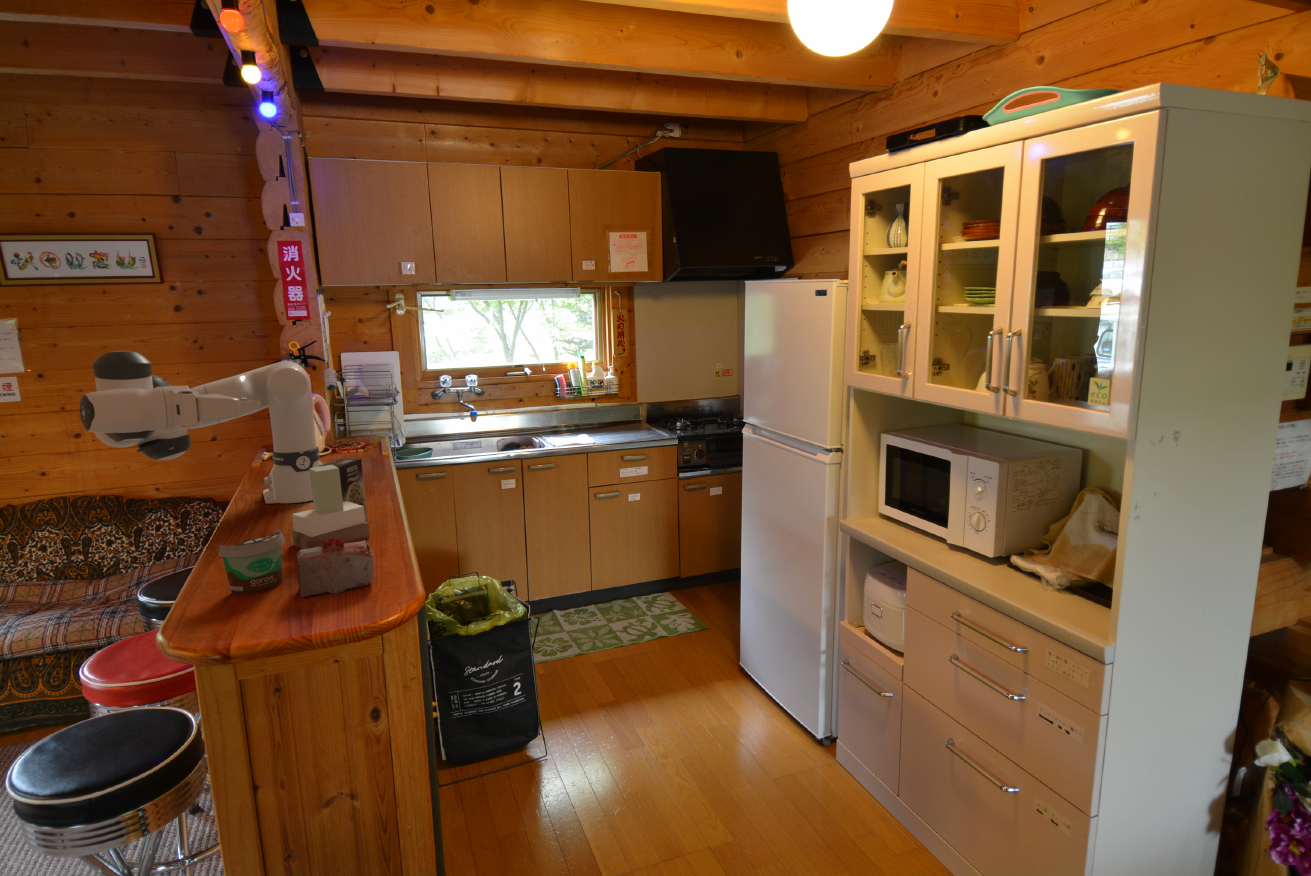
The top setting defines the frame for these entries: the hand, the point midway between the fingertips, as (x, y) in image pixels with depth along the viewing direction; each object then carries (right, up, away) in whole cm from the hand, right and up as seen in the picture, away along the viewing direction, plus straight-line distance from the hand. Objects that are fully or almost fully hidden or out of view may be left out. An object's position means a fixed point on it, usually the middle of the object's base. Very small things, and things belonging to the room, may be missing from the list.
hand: (255, 403), depth 162 cm
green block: (+11, -24, +11) cm, 29 cm away
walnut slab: (+11, -32, +13) cm, 36 cm away
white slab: (+11, -28, +12) cm, 33 cm away
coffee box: (+9, -29, +26) cm, 40 cm away
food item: (+25, -37, -16) cm, 47 cm away
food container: (+10, -37, -16) cm, 41 cm away
